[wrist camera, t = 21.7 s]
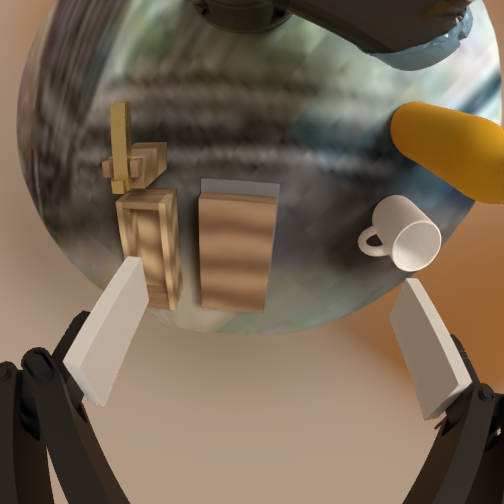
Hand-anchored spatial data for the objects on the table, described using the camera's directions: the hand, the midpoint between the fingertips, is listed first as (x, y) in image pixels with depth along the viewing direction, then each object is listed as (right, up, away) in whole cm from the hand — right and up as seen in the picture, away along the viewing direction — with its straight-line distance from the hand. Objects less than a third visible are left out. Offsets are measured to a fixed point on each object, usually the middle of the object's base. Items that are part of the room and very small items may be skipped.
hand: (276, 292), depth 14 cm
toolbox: (-17, +7, +34) cm, 39 cm away
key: (-17, +15, +18) cm, 29 cm away
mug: (+21, +7, +32) cm, 39 cm away
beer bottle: (+24, +21, +23) cm, 39 cm away
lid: (-4, +2, +35) cm, 35 cm away
